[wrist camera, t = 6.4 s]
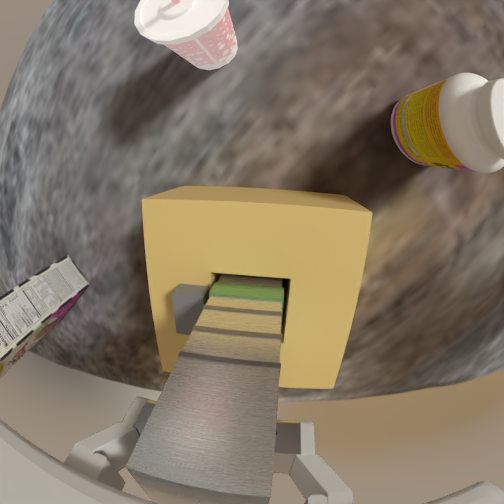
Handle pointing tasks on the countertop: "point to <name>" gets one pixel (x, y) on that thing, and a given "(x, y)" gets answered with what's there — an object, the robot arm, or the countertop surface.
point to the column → (218, 403)
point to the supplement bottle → (453, 124)
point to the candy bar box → (37, 308)
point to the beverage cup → (190, 29)
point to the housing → (259, 266)
